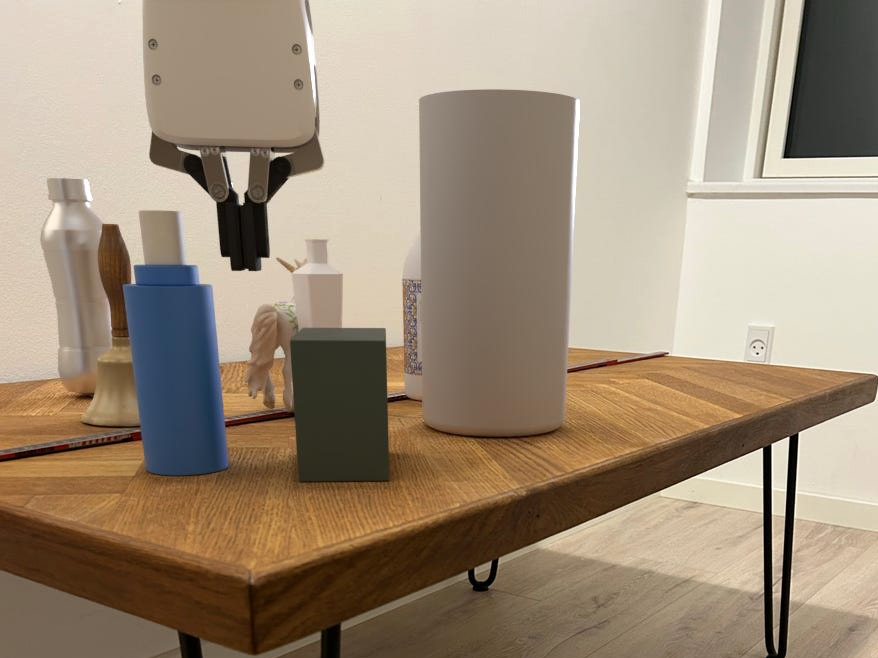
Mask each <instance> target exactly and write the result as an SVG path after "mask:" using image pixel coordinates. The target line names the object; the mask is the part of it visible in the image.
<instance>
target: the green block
mask: <svg viewBox="0 0 878 658" xmlns="http://www.w3.org/2000/svg"><path fill="white" fill-rule="evenodd" d="M290 351H291V367H292V391H293V398H294V412H293V414H294V428H295V430H294V431H295V441H296V442H295V444H296V460H297V476H298V482H299V483H300V482H301V483H303V482H304V483H305V482H306V483H309V482H311V483H312V482H313V483H315V482H317V483H318V482H389V481H390V445H389V444H390V443H389V442H390V441H389V438H390V437H389V406H388V403H389V402H388V366H387V365H388V364H387V362H388V361H387V360H388V359H387V329H386V328H385V327H342V328H302V329H301V330H300V331H299V332H298V333H297V334H296V335H295V336H294V337H293V338H292V339H291V340H290Z"/></svg>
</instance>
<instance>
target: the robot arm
mask: <svg viewBox="0 0 878 658" xmlns="http://www.w3.org/2000/svg"><path fill="white" fill-rule="evenodd" d="M310 8H311V7H310V1H309V0H142V60H143V61H142V63H143V79H144V80H143V81H144V83H143V85H144V96H145V105H146V106H145V107H146V113H147V114H146V115H147V118H148V123H149V126H150V129H151V134H150V135H151V137H150V143H149V152H148V153H149V154H148V157H149V160H150V162H151V163H152V164H153V165H155V166H157V167H161V168H163V169H167V170H170V171H175V172H178V173H181V174H185V175H188V176H190V177H191V178H192V180H194V181H195V182H196V183H197V184H198V185H199V186H200V187H201V188H202V189H203V190H204V191H205V192H206V193H207V194H208V195H209V196H210V198H211V199H212V200H213V201H214V202H215V206H216V214H217V215H216V218H217V229H218V241H219V242H218V243H219V252H220V256H221V258H229V262H230V263H229V264H230V270H231V271H232V272H243V271H246V270H248V272H261V271H262V259H270V256H271V248H270V233H269V231H270V230H269V218H268V204H269V203H270V202H271V200H272V199H273V197H274V196H275V195H276V194H277V193H278V192H279V190H281V188H282V187H283V186H284V185H285V184H286V182H287V181H288V180H289V179H290V178H294V177H299V176H303V175H307V174H311V173H315V172H318V171H321V170H323V169H324V167H325V165H326V159H325V156H324V151H323V149H322V146H321V140H320V122H321V121H320V119H321V118H320V99H319V98H320V97H319V84H318V74H317V73H318V72H317V60H316V50H315V49H316V48H315V40H314V39H315V38H314V31H313V30H314V29H313V20H312V15H311V9H310ZM180 149H183V150H180ZM184 150H186V151H184ZM187 150H188V151H197V152H199V155H200V156H199V155H197V154H194V153H190V152H187ZM227 152H228V153H249V162H248V163H249V164H248V176H247V189H246V190H245V191H244V192H243V201H244V202H242V204H240V198H239V197H240V196H239V193H238V192H237V191H236V190H235V188H234V183H233V179H232V174H231V169H230V164H229V159H228V156H227ZM276 154H285V155H281V156H276Z"/></svg>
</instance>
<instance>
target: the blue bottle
mask: <svg viewBox="0 0 878 658" xmlns="http://www.w3.org/2000/svg"><path fill="white" fill-rule="evenodd" d="M138 218H139V227H140V235H141V244H142V252H143V263H144V264H134V265H133V274H134V283H131V284H125V285H123V292H124V300H125V308H126V316H127V323H128V331H129V339H130V347H131V355H132V363H133V371H134V379H135V387H136V395H137V403H138V411H139V419H140V426H139V427H140V434H141V442H142V450H143V458H144V459H143V460H144V465H145V470H146V471H147V472H148V473H151V474H155V475H159V476H171V477H172V476H173V477H174V476H179V477H181V476H182V477H183V476H198V475H207V474H212V473H216V472H217V473H218V472H221V471H223V470H226V469H228V467H229V466H230V465H229V452H228V442H227V432H226V431H227V429H226V421H225V419H226V418H225V410H224V400H223V399H224V398H223V387H222V376H221V367H220V356H219V354H220V353H219V345H218V344H219V343H218V334H217V333H218V332H217V323H216V311H215V302H214V301H215V300H214V288H213V284H209V283H207V284H206V283H200V273H199V266H198V265H197V264H187V255H186V244H185V235H184V226H183V225H184V224H183V214H182V211H180V210H162V209H161V210H160V209H158V210H153V209H152V210H151V209H149V210H148V209H146V210H145V209H144V210H143V209H142V210H138Z"/></svg>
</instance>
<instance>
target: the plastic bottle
mask: <svg viewBox="0 0 878 658" xmlns="http://www.w3.org/2000/svg"><path fill="white" fill-rule="evenodd" d="M46 184H47V190H48V194H47V197H48V200H49V201H52V207H51V210H50V211H49V213H48V215H47V217H46V219H45V220H44V223H43V225H42V228H41V230H40V235H39V242H40V247H41V250H42V252H43V257H44V261H45V264H46V268H47V271H48V275H49V278H50V282H51V288H52V293H53V298H54V299H55V302H54V304H55V309H56V317H57V333H58V345H59V348H57V349H58V350H57V372H58V375H59V378H60V381H61V384H62V385H63V386H64V388H65V389H66V390H67V391H68V392H70V393H74V394H79V395H84V396H90V397H94V395H95V391H96V386H97V372H98V366H97V360H98V358H99V356H101V355H103V354H105V353H106V352H107V351H109V350H110V349H111V348H112V334H111V330H112V327H111V316H110V306H109V301H108V298H107V295H106V293H105V290H104V288H103V285H102V282H101V278H100V273H99V267H98V247H99V241H100V237H101V232H102V224H105V223H104V222H103V220H102V219H101V217H99V215H98V214H97V213H96V212H95V210H93V209H92V206H91V202H94V199H93V195H92V193H91V187H90V186H91V185H90V182H89V179H85V178H84V179H83V178H82V179H81V178H67V177H66V178H65V177H64V178H63V177H62V178H61V177H59V178H57V177H54V178H53V177H52V178H51V177H50V178H49V177H48V178H46Z"/></svg>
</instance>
